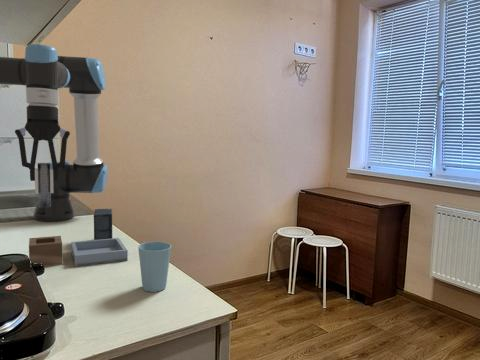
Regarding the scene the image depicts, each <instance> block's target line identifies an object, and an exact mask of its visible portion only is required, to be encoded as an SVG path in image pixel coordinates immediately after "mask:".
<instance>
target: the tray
mask: <svg viewBox="0 0 480 360" xmlns="http://www.w3.org/2000/svg"><path fill="white" fill-rule="evenodd" d="M70 245H71V246H70V249H71V250H70V251H71V255H72V259H73V263H74V267H81V266H90V265H101V264H107V263H116V262H117V263H118V262H124V261H126V262H127V261H128V258H129V257H128V256H129V255H128V252H129V251H128V249H127V247H126V245H124V243H123V242H122V241H121V238H120V237H114V238H113V237H112V239H100V240H94V239H91V240H90V239H89V240H80V241H79V240H78V241H71V242H70Z"/></svg>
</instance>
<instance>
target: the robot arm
mask: <svg viewBox="0 0 480 360" xmlns="http://www.w3.org/2000/svg"><path fill="white" fill-rule="evenodd" d="M104 71H105V70H104V67H103V64H102V63H101V61H100V60H99V59H97V58H91V57H88V56H87V57H81V56H79V57H78V56H66V55H65V56H63V55H58V50H57V49H56V48H55V47H54V46H51V45H46V44H39V43H37V44H36V43H31V44H28V45H26V46H25V52H24V58H22V57H20V58H18V57H7V56H0V85H12V86H25V95H26V97H25V99H26V100H25V101H26V103H27V104H28V105H27V106H26V124H25V125H24V127H21V128H18V129H15V130H14V134H15V135H16V136H17V139H18V144H19V152H20V159H21V160H20V162H21V166H22V167H25V168H27V169H29V180H30V181H31V182H34V191H35V192H34V193H35V194H37V195H38V168H36V163H37V155H38V148H39V142H40V141H46V142H47V144H48V150H49V154H50V159H51V160H50V161H51V162H49V163H50V193H51V207H48V208H40V207H39V203H38V201H37V203H36V205H35V208H34V212H33V219H34V220H35V221H39V222H59V221H66V220H67V221H68V220H71V219H73V218H74V217H75V210H74V207H73V205H72V201H71V200H70V199H71V198H70V194H71V193H72V194H78V193H79V194H99V193H103V192H104V190H105V188H106V186H107V185H106V184H107V181H108V174H109V167H108V165H106V164H104V159H102V158H101V157H100V140H99V139H100V137H99V115H98V114H99V112H98V111H99V109H98V98H99V97H100V96H101V95H102V91H104V90H105V89H106V76H105V72H104ZM64 88H65V89H66V88H67V89H68V92H69V94H70V96H72V97H73V106H74V125H75V127H74V130H75V147H76V158H75V159H74V160H73V161H72V164H71V163H70V161H68V160H66V158H67V157H66V155H67V143H68V138H69V136H70V134H71V132H70V131H69V130H65V129H63V128H61V126H60V123H59V108H58V107H57V106H58V105H59V89H64ZM26 132H27V133H28V134H29V135H30V136H31V138H32V139H33V143H32V148H31V149H32V150H31V155H30V162H28V158H27V150H26V143H25V137H26ZM58 133H60V137H61V142H60V143H61V144H60V152H59V153H60V155H59V161H58V160H57V156H56V151H55V145H54V139H55V137H56V136H57V135H58Z"/></svg>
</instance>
